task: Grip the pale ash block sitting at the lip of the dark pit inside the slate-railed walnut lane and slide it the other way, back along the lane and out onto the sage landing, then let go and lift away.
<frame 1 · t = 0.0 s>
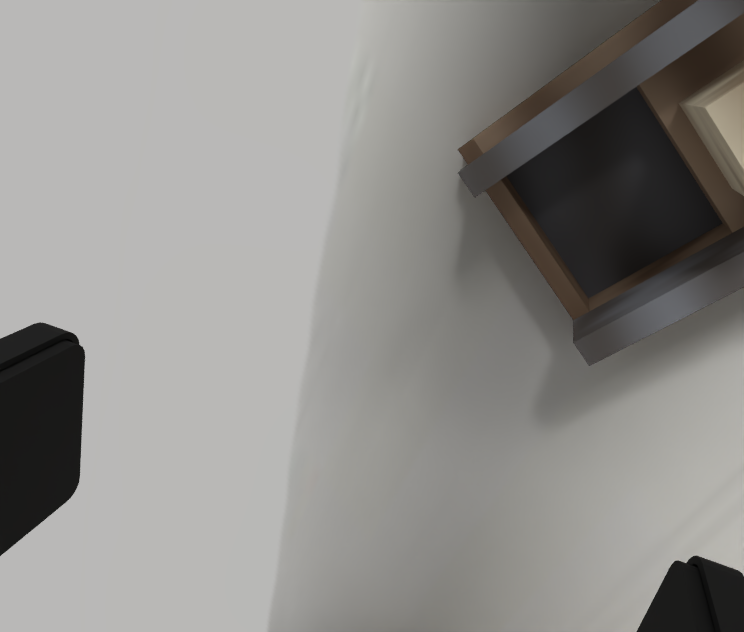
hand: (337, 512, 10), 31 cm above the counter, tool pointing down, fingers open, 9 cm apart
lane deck: (722, 124, 34), on the counter
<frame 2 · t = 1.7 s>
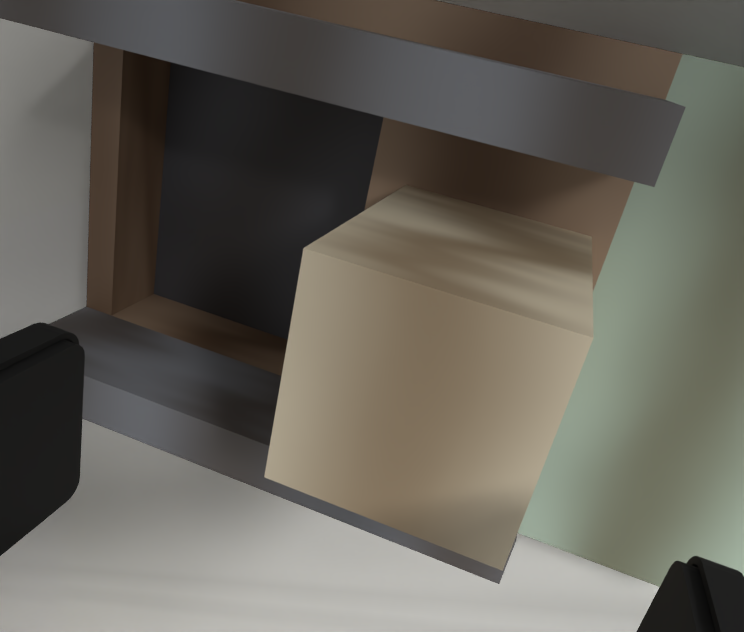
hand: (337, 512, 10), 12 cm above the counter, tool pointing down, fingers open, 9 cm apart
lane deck: (456, 258, 21), on the counter
ash block: (470, 296, 18), point 3 cm above the counter, touching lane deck
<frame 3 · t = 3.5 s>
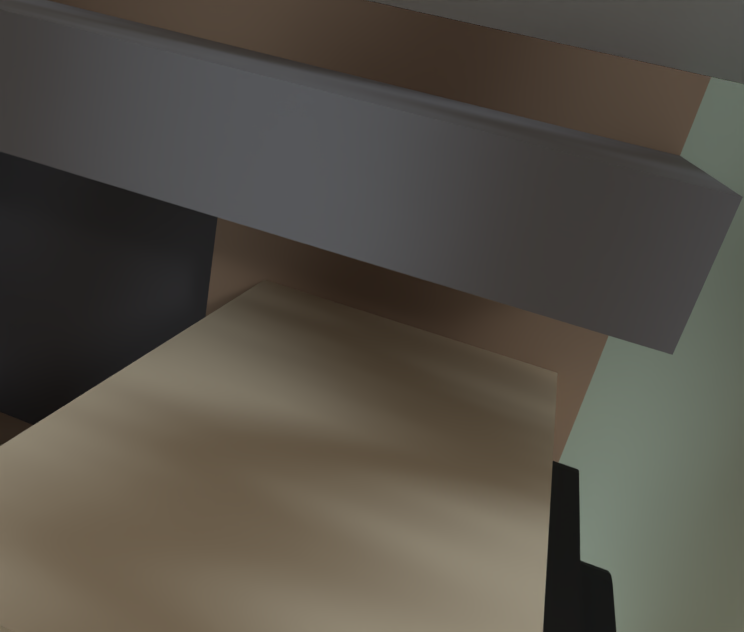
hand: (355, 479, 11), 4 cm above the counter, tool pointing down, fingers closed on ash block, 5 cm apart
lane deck: (368, 366, 14), on the counter
ash block: (372, 450, 11), point 3 cm above the counter, touching gripper, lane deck
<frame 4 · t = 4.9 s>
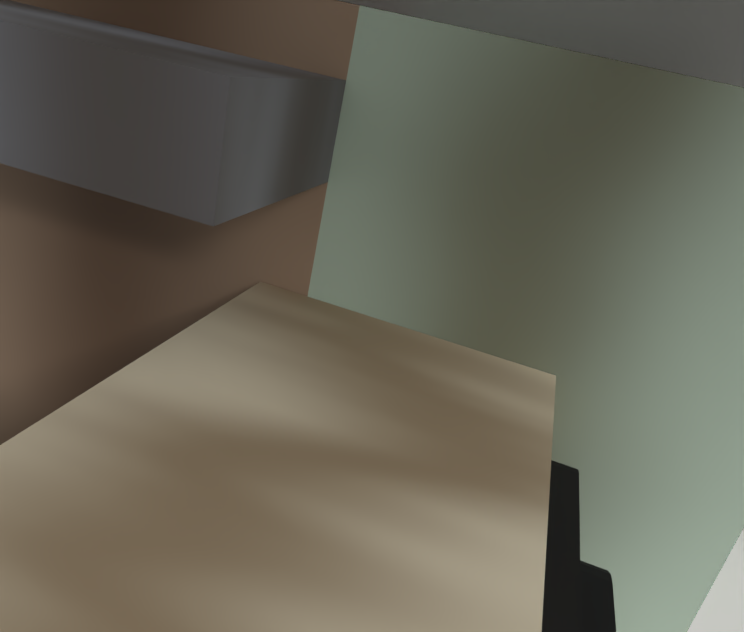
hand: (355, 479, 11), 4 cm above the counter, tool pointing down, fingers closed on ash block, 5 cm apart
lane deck: (180, 310, 15), on the counter
ash block: (369, 453, 11), point 3 cm above the counter, touching gripper
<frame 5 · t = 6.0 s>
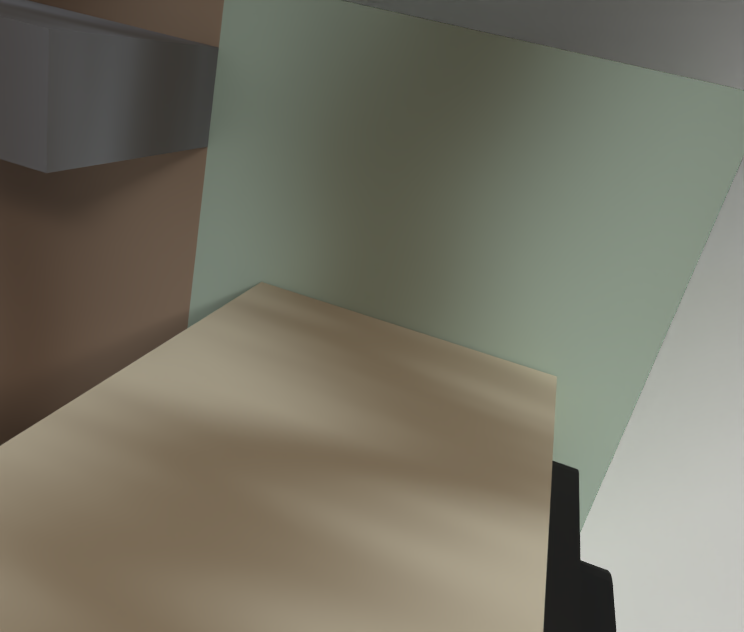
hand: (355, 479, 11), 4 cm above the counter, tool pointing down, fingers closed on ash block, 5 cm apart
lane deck: (102, 281, 16), on the counter
ash block: (369, 454, 11), point 3 cm above the counter, touching gripper
when the fingers open (4 cm above the counter, at t = 6.5 s): ash block stays where it is, resting on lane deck.
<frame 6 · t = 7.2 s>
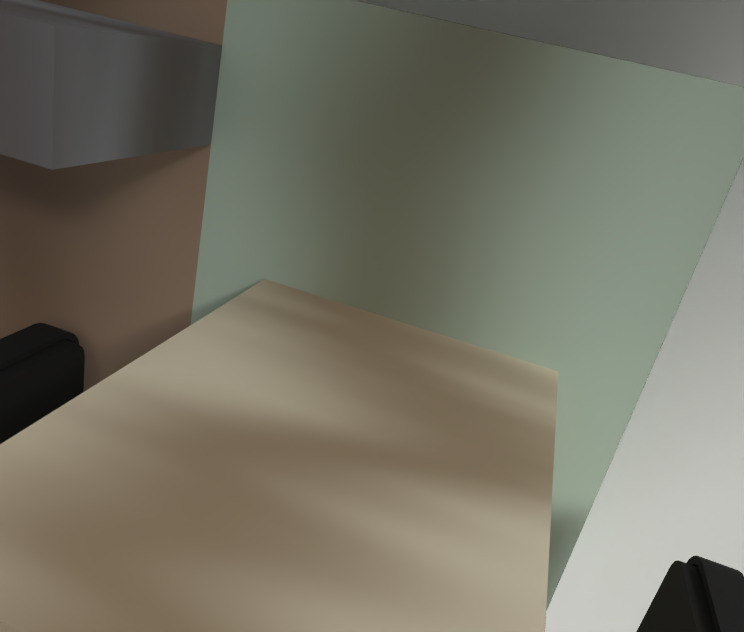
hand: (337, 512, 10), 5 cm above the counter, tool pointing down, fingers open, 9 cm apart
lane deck: (105, 279, 16), on the counter
ash block: (372, 449, 11), point 3 cm above the counter, touching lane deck
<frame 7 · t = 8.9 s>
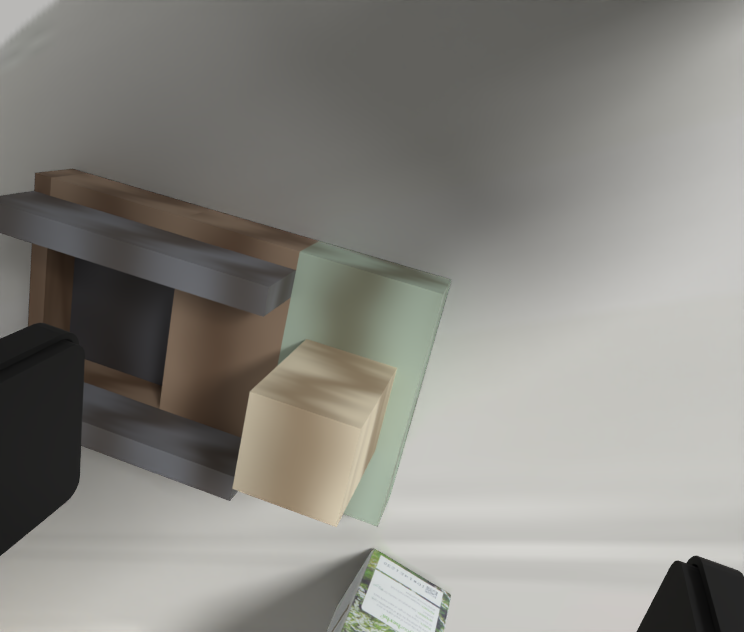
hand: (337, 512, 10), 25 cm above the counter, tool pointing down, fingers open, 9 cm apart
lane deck: (233, 335, 38), on the counter
ash block: (341, 395, 34), point 3 cm above the counter, touching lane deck
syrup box: (394, 596, 41), on the counter
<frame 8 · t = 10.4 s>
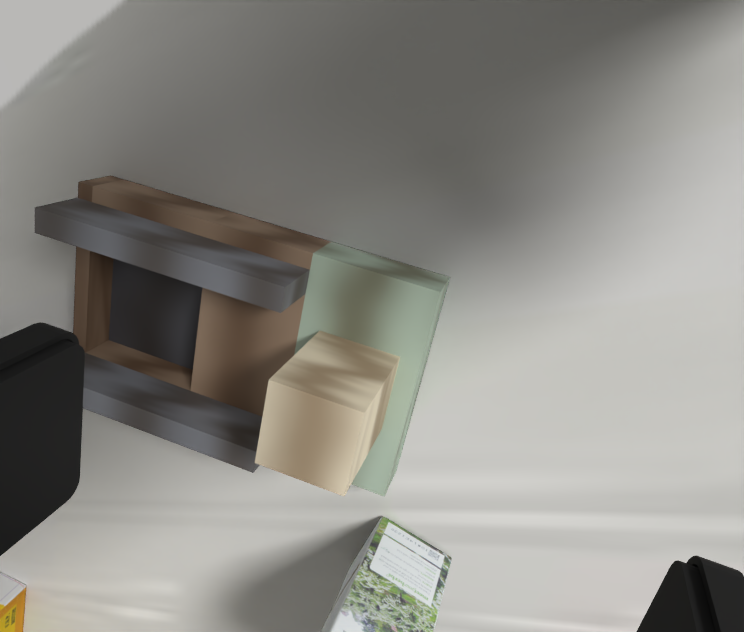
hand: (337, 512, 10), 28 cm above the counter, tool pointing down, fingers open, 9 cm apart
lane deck: (255, 325, 42), on the counter
ash block: (351, 380, 38), point 3 cm above the counter, touching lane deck
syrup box: (401, 558, 46), on the counter
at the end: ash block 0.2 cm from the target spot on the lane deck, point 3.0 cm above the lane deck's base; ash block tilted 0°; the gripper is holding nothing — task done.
